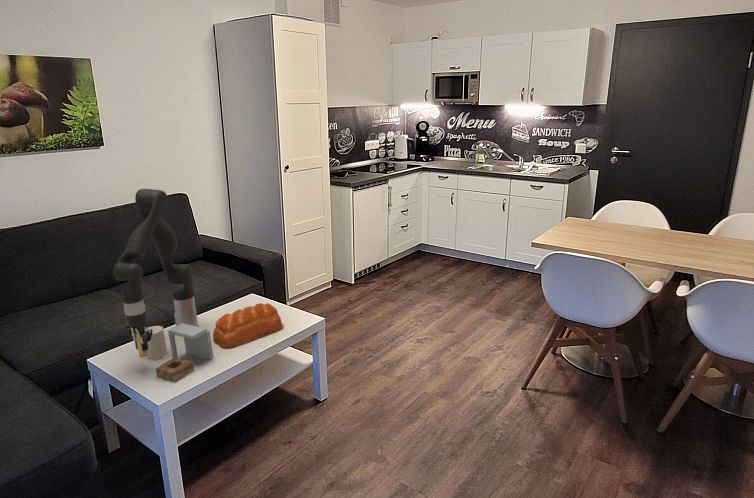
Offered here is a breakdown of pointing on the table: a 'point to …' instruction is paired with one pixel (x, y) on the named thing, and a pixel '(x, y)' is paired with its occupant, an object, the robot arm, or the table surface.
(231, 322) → the bread
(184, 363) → the socket block
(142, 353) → the peg
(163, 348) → the cup
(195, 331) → the grey arch-shaped block
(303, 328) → the table surface
